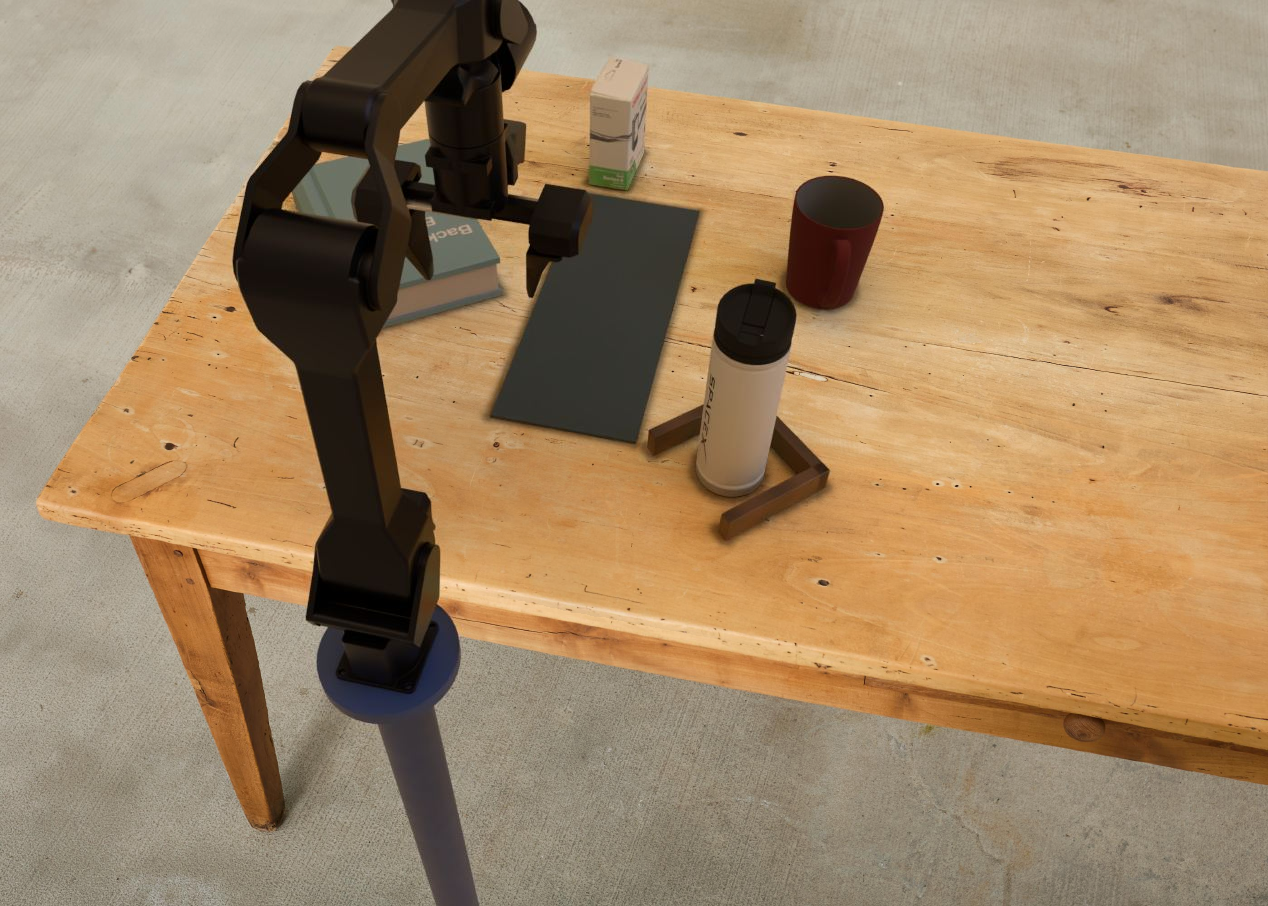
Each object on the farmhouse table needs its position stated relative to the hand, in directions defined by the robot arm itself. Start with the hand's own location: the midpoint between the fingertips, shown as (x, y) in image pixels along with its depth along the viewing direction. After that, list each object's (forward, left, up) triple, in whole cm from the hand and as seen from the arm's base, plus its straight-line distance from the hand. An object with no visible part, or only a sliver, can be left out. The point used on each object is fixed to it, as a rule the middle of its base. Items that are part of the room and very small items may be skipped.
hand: (480, 285), depth 92 cm
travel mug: (-4, -24, -13) cm, 28 cm away
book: (+18, +16, -13) cm, 27 cm away
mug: (+22, -30, -13) cm, 39 cm away
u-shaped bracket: (-4, -24, -13) cm, 28 cm away
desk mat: (+15, -8, -13) cm, 21 cm away
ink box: (+39, -4, -13) cm, 41 cm away
